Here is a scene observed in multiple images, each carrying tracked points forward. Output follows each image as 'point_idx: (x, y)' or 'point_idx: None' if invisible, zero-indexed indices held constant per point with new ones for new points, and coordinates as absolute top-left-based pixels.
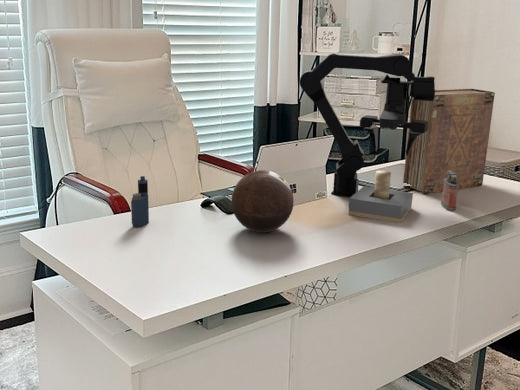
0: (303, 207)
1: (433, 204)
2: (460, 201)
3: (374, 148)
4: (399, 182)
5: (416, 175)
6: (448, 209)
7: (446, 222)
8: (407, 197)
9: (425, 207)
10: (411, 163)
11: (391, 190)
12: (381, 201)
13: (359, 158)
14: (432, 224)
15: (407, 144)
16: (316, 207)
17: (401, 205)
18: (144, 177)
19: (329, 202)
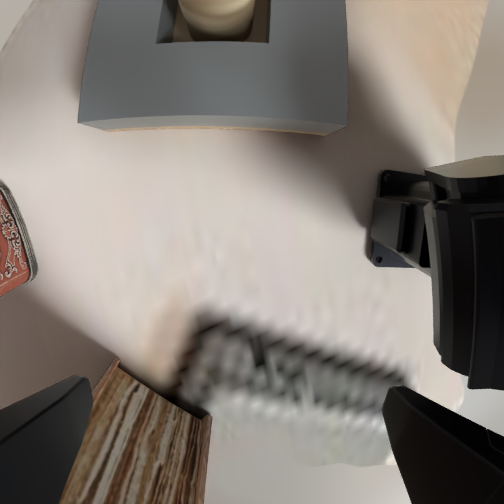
0: (462, 11)
1: (52, 238)
2: (8, 317)
3: (416, 395)
4: (237, 452)
5: (144, 429)
6: (3, 186)
7: (10, 60)
8: (96, 35)
9: (66, 180)
10: (171, 481)
11: (183, 105)
12: None
13: (481, 197)
14: (45, 15)
15: (17, 428)
16: (436, 14)
17: None
18: None
19: (428, 75)
